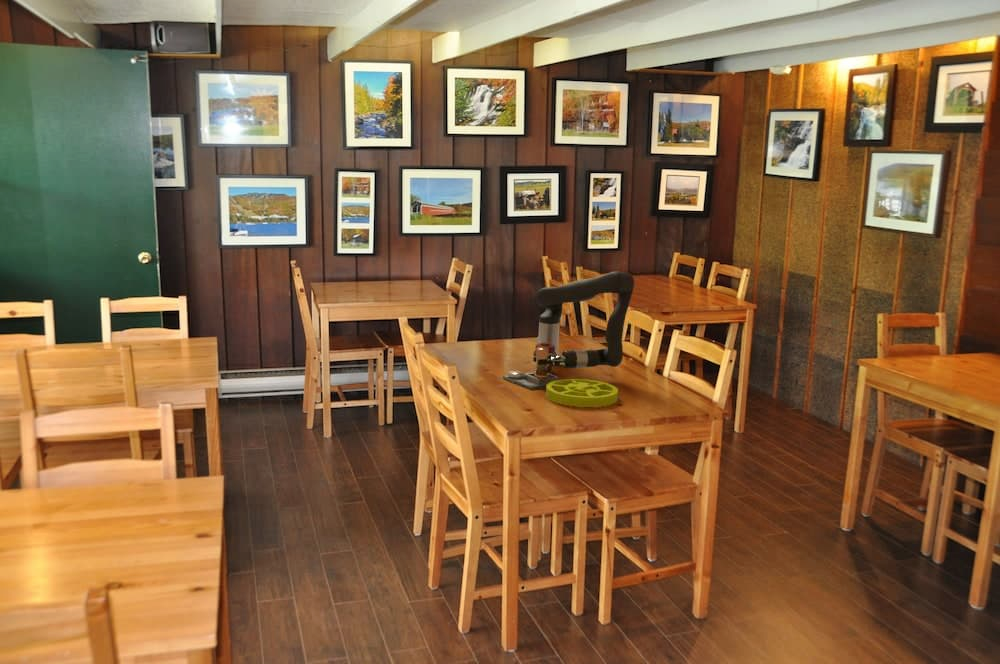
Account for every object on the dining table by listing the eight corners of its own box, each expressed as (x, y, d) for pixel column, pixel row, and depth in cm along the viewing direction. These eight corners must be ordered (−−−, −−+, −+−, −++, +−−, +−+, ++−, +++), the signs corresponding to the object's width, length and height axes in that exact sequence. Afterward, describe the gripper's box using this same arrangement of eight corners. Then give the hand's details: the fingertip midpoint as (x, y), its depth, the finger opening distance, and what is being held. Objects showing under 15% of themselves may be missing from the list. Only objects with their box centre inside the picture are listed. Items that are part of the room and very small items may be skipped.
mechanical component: (533, 367, 393) (556, 368, 392) (531, 372, 384) (555, 374, 383) (534, 339, 391) (557, 341, 390) (533, 344, 381) (556, 346, 380)
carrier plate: (502, 378, 372) (503, 370, 371) (533, 374, 381) (533, 366, 380) (531, 389, 356) (531, 382, 355) (562, 385, 365) (563, 377, 364)
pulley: (534, 391, 355) (534, 379, 354) (595, 386, 366) (596, 375, 365) (566, 411, 330) (567, 398, 329) (631, 405, 341) (631, 392, 340)
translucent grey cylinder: (531, 376, 368) (532, 347, 365) (542, 374, 371) (543, 346, 369) (539, 379, 363) (541, 350, 360) (551, 377, 366) (552, 349, 364)
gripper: (568, 346, 375) (530, 348, 371) (581, 354, 362) (541, 355, 357) (568, 363, 377) (529, 365, 372) (580, 372, 364) (541, 374, 359)
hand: (535, 360), depth 365 cm, fingers closed on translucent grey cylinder, 4 cm apart
